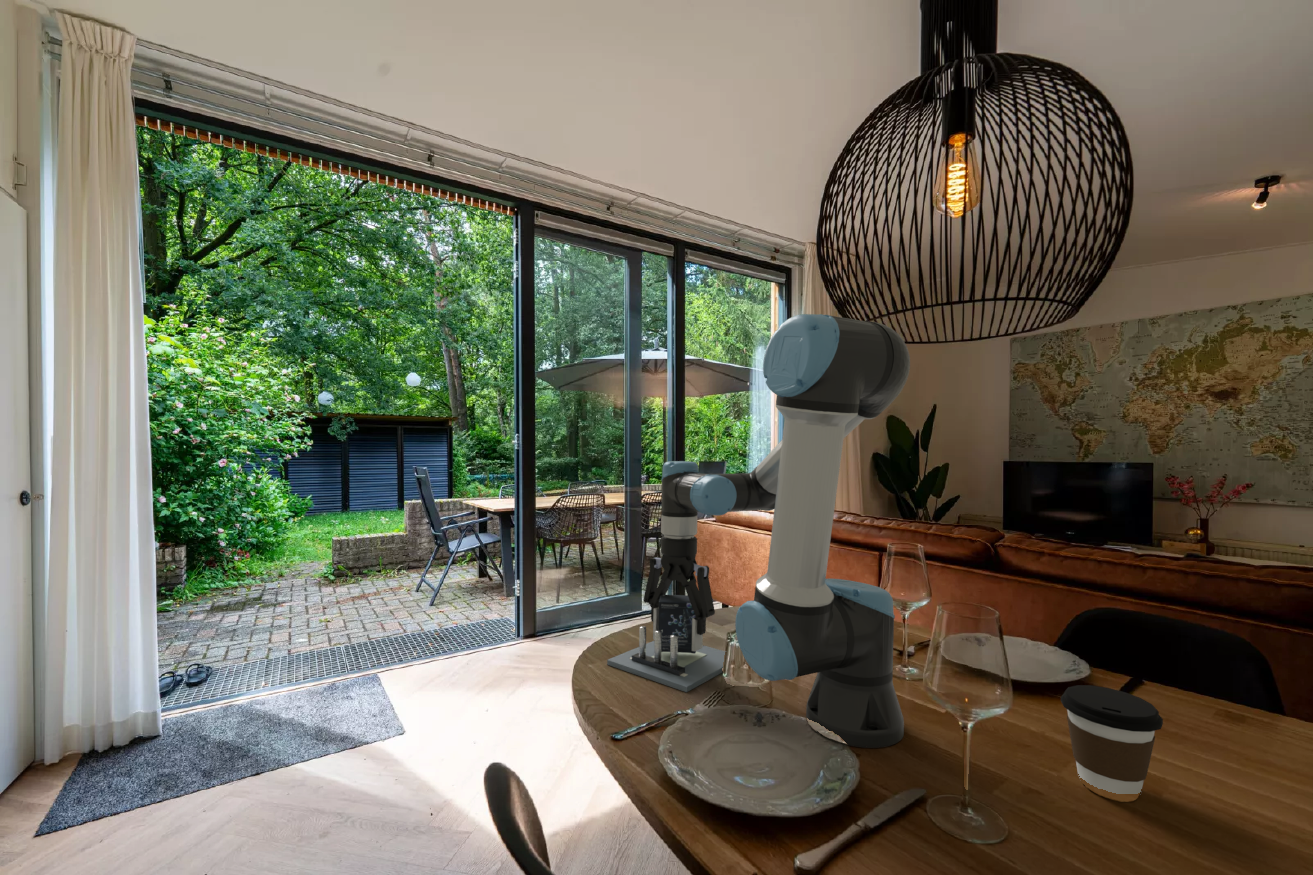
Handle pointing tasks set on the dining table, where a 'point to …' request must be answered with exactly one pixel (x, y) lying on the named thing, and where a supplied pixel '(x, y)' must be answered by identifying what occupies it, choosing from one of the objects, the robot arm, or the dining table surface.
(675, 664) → the header pins
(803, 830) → the dining table surface
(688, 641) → the box
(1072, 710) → the coffee cup
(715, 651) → the slate board
